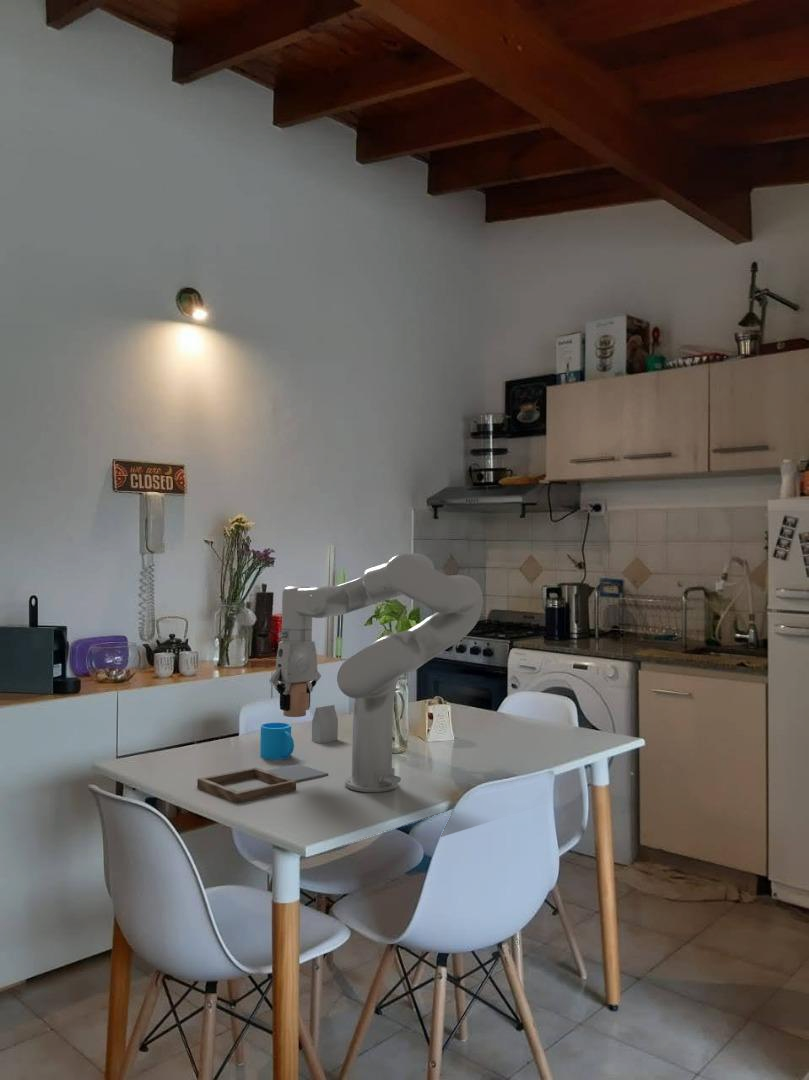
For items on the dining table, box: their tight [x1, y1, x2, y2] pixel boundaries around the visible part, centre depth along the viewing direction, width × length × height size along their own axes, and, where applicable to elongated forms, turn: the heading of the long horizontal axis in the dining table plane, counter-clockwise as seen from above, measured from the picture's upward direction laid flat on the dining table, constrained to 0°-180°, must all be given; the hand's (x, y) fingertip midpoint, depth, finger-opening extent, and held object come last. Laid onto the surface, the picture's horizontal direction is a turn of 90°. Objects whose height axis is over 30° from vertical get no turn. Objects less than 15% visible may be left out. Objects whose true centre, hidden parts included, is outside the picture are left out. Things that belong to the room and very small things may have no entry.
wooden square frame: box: [196, 767, 297, 804], centre depth 209 cm, size 16×16×2 cm
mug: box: [259, 722, 295, 760], centre depth 240 cm, size 12×8×8 cm
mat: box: [265, 763, 329, 783], centre depth 222 cm, size 12×12×1 cm
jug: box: [282, 682, 310, 718], centre depth 221 cm, size 8×6×8 cm
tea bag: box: [311, 704, 339, 744], centre depth 261 cm, size 4×7×10 cm, turn 136°
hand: (295, 707), depth 222 cm, fingers closed on jug, 5 cm apart
